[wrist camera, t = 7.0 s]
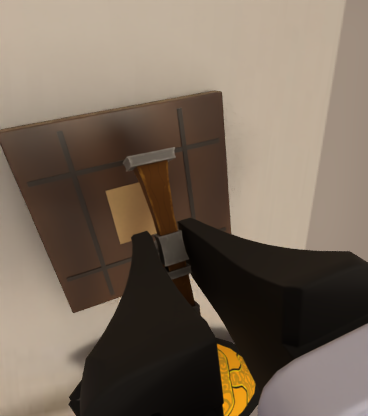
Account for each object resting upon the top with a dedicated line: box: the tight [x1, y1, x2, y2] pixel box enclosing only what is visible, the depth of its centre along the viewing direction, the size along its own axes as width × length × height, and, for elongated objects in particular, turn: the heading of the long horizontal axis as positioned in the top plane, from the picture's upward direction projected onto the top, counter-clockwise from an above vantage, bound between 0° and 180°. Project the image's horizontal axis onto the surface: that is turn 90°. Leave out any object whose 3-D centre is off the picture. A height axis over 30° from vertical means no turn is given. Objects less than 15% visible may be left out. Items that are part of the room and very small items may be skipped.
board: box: [0, 91, 231, 313], centre depth 20 cm, size 13×13×1 cm
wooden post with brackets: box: [123, 147, 201, 316], centre depth 13 cm, size 2×8×4 cm, turn 6°
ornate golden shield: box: [69, 338, 261, 416], centre depth 25 cm, size 9×17×6 cm
